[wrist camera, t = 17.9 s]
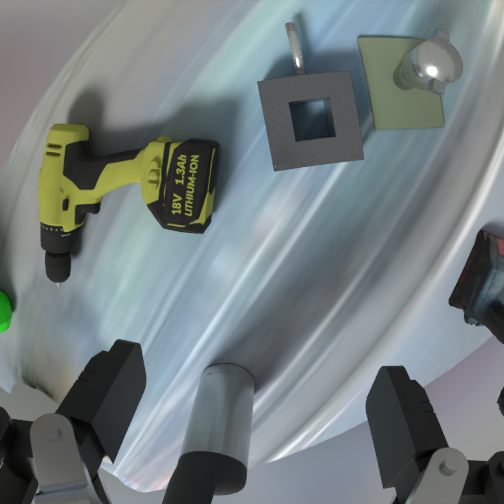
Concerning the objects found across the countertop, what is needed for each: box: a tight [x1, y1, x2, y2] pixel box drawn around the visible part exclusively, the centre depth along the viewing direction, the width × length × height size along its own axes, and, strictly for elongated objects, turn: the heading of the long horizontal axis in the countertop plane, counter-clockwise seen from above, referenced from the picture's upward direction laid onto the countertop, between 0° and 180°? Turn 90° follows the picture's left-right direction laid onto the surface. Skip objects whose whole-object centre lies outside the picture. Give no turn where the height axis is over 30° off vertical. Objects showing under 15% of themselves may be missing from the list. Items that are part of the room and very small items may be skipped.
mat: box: [357, 37, 444, 130], centre depth 30 cm, size 12×10×1 cm
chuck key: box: [393, 29, 463, 95], centre depth 25 cm, size 5×7×11 cm
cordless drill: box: [38, 124, 221, 287], centre depth 37 cm, size 7×25×25 cm
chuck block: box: [257, 22, 364, 172], centre depth 31 cm, size 17×10×4 cm, turn 11°
